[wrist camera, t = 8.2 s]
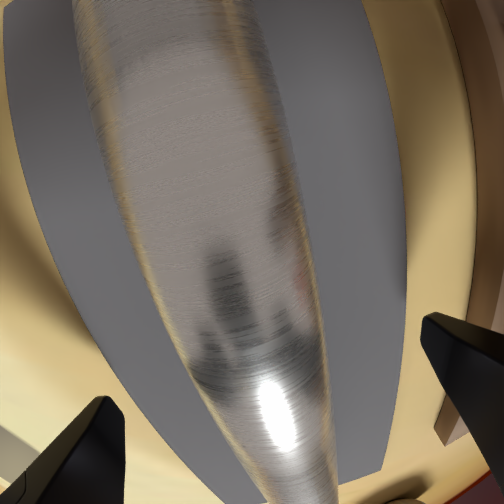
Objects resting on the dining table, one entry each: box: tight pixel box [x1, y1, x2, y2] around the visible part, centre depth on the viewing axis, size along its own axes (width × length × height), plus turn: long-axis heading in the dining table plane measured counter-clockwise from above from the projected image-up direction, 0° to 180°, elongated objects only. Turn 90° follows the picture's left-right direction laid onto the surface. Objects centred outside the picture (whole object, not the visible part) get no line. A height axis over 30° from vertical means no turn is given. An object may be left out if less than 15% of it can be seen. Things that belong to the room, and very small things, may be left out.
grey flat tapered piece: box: [3, 0, 407, 504], centre depth 8 cm, size 24×9×1 cm, turn 14°
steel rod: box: [72, 0, 339, 504], centre depth 7 cm, size 20×3×3 cm, turn 14°
